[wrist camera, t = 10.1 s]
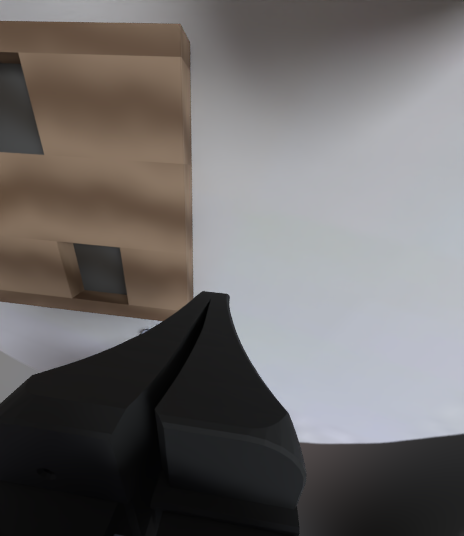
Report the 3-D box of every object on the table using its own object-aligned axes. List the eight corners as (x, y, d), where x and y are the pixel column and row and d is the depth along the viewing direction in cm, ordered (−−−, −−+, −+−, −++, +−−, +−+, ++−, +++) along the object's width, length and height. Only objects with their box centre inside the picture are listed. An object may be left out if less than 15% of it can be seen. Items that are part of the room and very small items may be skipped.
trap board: (193, 312, 24) (188, 324, 22) (7, 290, 25) (-12, 300, 23) (190, 42, 15) (180, 23, 13) (-97, 36, 16) (-141, 18, 14)
